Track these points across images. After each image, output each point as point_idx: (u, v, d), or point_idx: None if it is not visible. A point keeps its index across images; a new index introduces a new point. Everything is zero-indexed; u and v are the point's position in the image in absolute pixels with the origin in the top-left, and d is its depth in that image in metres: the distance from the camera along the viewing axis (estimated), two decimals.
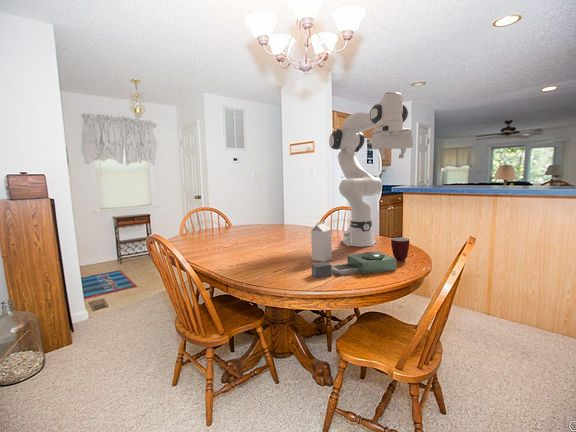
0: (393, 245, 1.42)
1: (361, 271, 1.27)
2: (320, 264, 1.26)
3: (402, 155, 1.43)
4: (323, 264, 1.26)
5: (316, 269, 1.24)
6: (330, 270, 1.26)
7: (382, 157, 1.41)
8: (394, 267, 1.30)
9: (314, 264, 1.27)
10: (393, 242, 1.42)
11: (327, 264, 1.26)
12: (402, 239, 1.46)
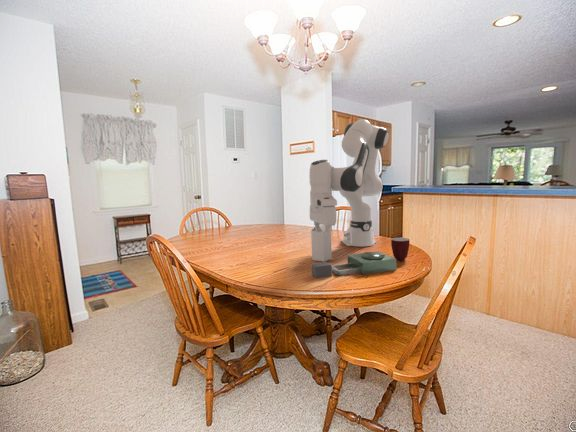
0: (393, 245, 1.42)
1: (361, 271, 1.27)
2: (320, 264, 1.26)
3: None
4: (323, 264, 1.26)
5: (316, 269, 1.24)
6: (330, 270, 1.26)
7: (327, 234, 1.19)
8: (394, 267, 1.30)
9: (314, 264, 1.27)
10: (393, 242, 1.42)
11: (327, 264, 1.26)
12: (402, 239, 1.46)
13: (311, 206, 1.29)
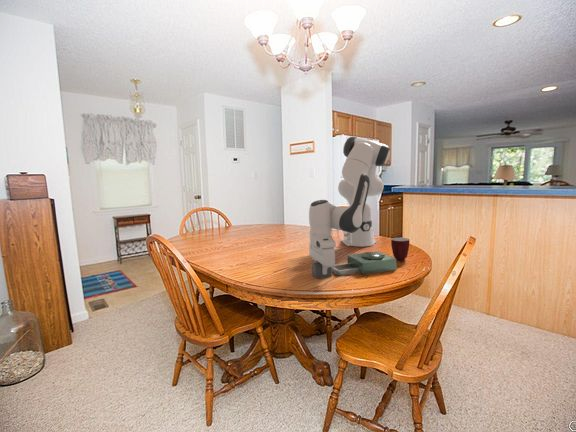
0: (393, 245, 1.42)
1: (361, 271, 1.27)
2: (320, 264, 1.26)
3: None
4: None
5: (316, 269, 1.24)
6: (330, 270, 1.26)
7: (325, 272, 1.23)
8: (394, 267, 1.30)
9: (314, 264, 1.27)
10: (393, 242, 1.42)
11: None
12: (402, 239, 1.46)
13: None
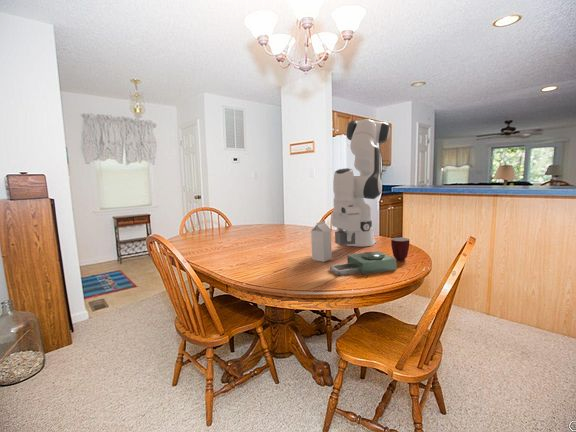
0: (393, 245, 1.42)
1: (361, 271, 1.27)
2: (344, 232, 1.28)
3: None
4: None
5: (340, 236, 1.26)
6: (354, 237, 1.28)
7: (349, 239, 1.26)
8: (394, 267, 1.30)
9: (338, 232, 1.29)
10: (393, 242, 1.42)
11: None
12: (402, 239, 1.46)
13: (333, 212, 1.34)
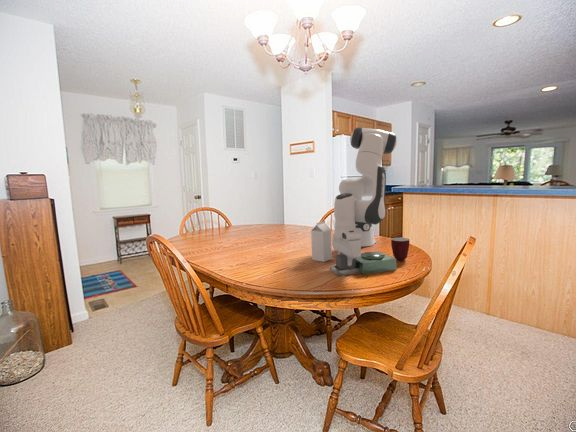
0: (393, 245, 1.42)
1: (361, 271, 1.27)
2: (344, 256, 1.30)
3: None
4: None
5: (341, 260, 1.27)
6: (354, 261, 1.29)
7: (350, 264, 1.27)
8: (394, 267, 1.30)
9: (338, 255, 1.31)
10: (393, 242, 1.42)
11: None
12: (402, 239, 1.46)
13: (334, 236, 1.35)
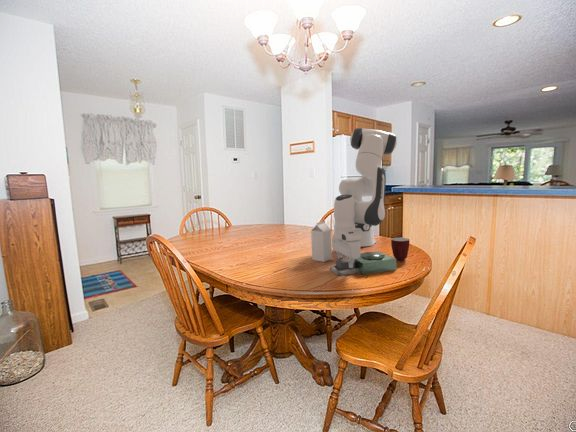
0: (393, 245, 1.42)
1: (361, 271, 1.27)
2: (344, 260, 1.30)
3: None
4: (347, 260, 1.30)
5: (341, 265, 1.28)
6: (354, 266, 1.30)
7: (351, 266, 1.26)
8: (394, 267, 1.30)
9: (338, 260, 1.31)
10: (393, 242, 1.42)
11: None
12: (402, 239, 1.46)
13: (334, 237, 1.36)
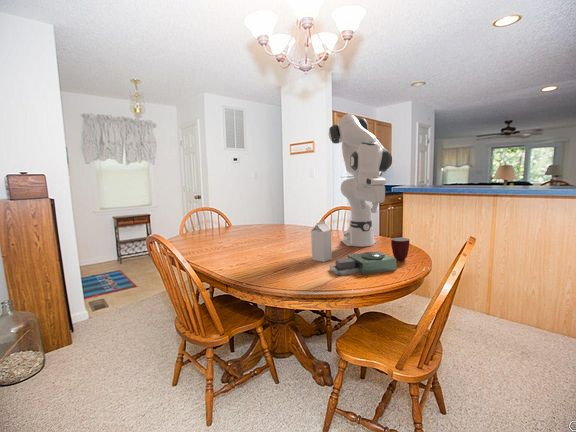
0: (393, 245, 1.42)
1: (361, 271, 1.27)
2: (344, 260, 1.30)
3: None
4: (347, 260, 1.30)
5: (341, 265, 1.28)
6: (354, 266, 1.29)
7: (374, 211, 1.28)
8: (394, 267, 1.30)
9: (338, 260, 1.31)
10: (393, 242, 1.42)
11: (351, 260, 1.30)
12: (402, 239, 1.46)
13: (357, 185, 1.38)
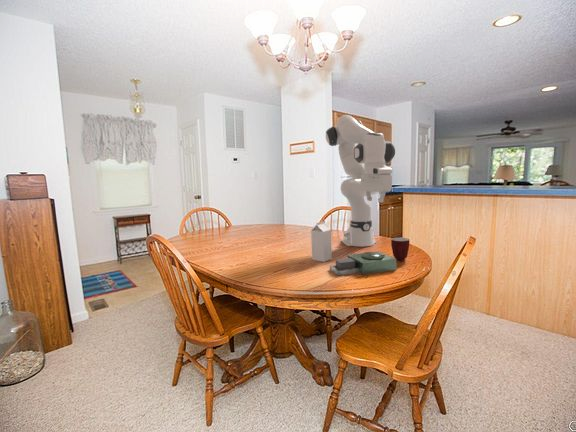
0: (393, 245, 1.42)
1: (361, 271, 1.27)
2: (344, 260, 1.30)
3: None
4: (347, 260, 1.30)
5: (341, 265, 1.28)
6: (354, 266, 1.29)
7: (381, 200, 1.29)
8: (394, 267, 1.30)
9: (338, 260, 1.31)
10: (393, 242, 1.42)
11: (351, 260, 1.30)
12: (402, 239, 1.46)
13: (363, 177, 1.39)
